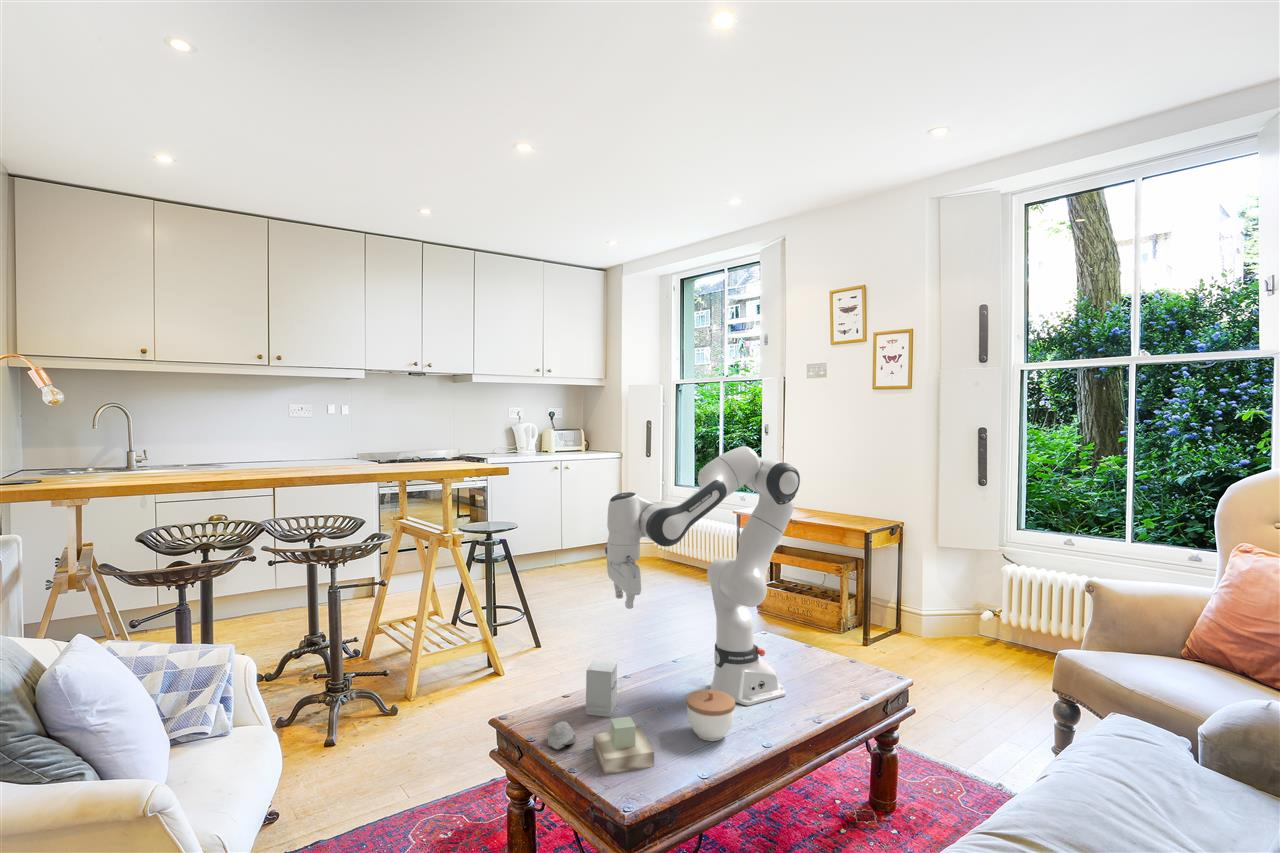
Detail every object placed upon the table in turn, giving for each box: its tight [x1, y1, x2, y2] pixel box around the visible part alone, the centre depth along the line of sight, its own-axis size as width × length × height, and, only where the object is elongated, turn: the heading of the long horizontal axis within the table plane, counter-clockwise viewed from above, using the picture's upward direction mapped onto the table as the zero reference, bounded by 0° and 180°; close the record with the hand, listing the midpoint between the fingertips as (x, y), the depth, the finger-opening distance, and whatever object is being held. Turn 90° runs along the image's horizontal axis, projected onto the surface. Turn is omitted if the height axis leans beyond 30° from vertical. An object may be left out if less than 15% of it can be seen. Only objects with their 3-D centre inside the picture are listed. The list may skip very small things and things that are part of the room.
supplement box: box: [585, 660, 618, 718], centre depth 180 cm, size 7×7×13 cm
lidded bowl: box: [686, 689, 736, 742], centre depth 167 cm, size 13×13×11 cm
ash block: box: [592, 727, 655, 775], centre depth 156 cm, size 12×12×4 cm
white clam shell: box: [547, 721, 577, 751], centre depth 162 cm, size 9×8×5 cm
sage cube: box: [610, 716, 637, 749], centre depth 156 cm, size 5×5×5 cm
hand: (624, 602), depth 175 cm, fingers open, 8 cm apart
